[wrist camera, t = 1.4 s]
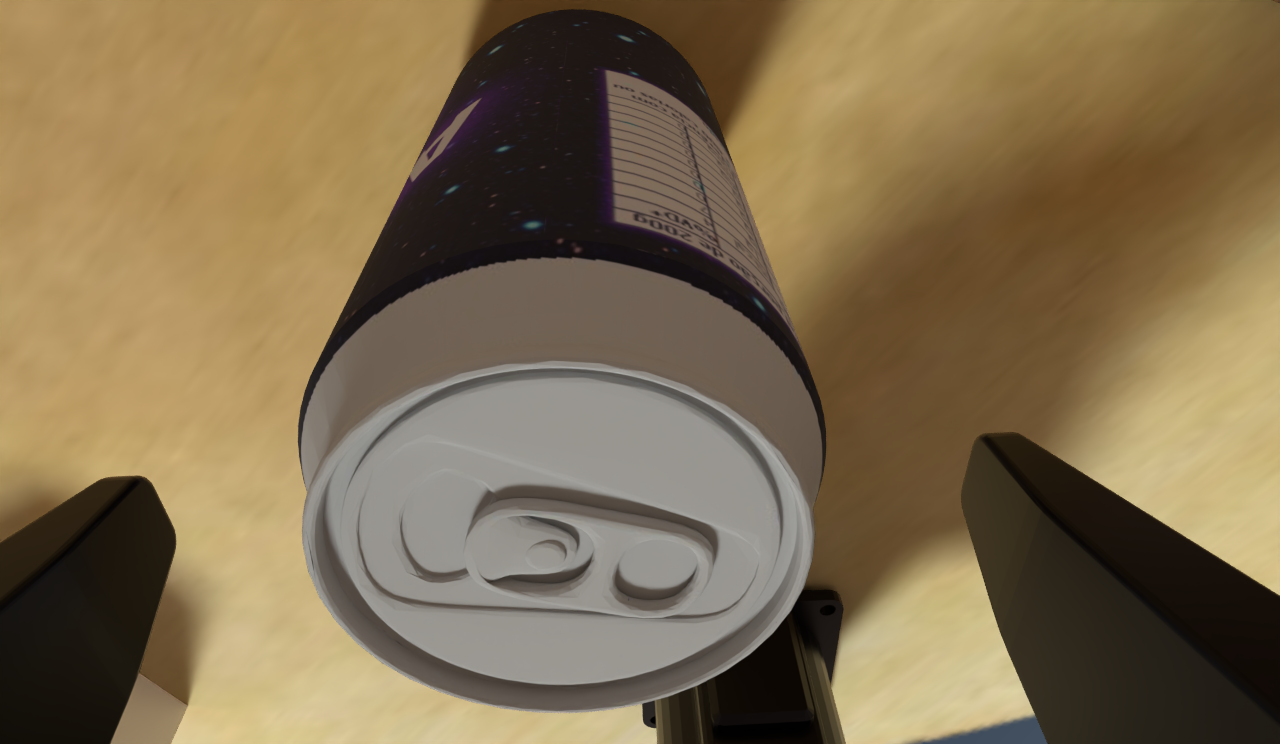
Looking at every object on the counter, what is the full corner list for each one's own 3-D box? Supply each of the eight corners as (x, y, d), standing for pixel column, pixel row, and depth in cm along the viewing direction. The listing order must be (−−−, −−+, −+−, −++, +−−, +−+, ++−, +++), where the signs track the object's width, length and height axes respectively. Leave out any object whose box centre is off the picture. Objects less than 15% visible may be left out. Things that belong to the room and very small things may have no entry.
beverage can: (473, -39, 16) (266, 237, 6) (751, 46, 17) (968, 400, 7) (430, 225, 19) (246, 699, 9) (667, 283, 20) (736, 761, 10)
